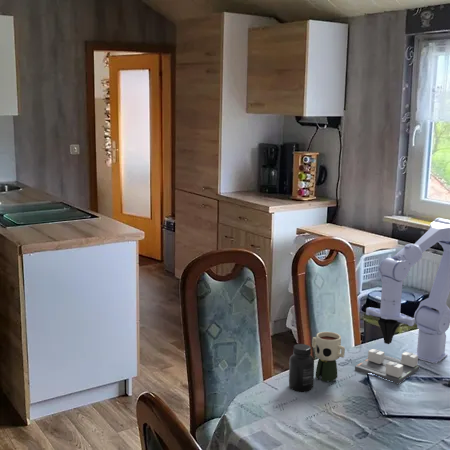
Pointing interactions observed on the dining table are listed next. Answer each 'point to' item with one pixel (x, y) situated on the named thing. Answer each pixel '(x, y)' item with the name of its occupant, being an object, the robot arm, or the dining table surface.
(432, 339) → the robot arm
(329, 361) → the character mug
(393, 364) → the block
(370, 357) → the block
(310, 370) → the supplement bottle
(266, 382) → the dining table surface
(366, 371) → the panel
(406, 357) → the block
